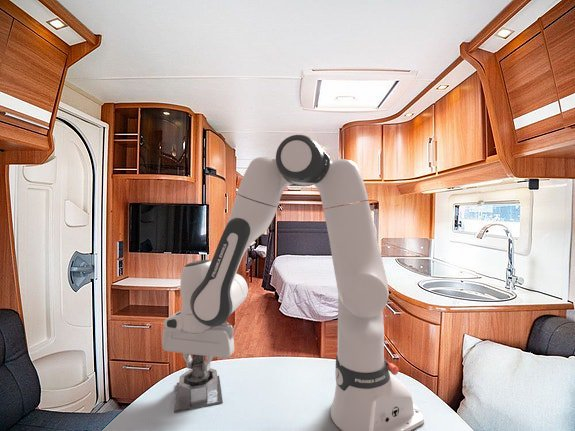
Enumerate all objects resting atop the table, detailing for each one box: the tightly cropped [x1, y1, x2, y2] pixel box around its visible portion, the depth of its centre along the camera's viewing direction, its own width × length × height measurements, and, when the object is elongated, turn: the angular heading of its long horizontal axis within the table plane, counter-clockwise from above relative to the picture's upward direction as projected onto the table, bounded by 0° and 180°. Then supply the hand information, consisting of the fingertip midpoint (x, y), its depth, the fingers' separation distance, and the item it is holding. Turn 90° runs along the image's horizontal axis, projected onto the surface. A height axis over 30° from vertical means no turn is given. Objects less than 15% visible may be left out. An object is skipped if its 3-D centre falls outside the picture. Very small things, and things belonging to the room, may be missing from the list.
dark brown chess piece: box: [187, 354, 209, 386], centre depth 81 cm, size 6×6×12 cm
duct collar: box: [173, 367, 224, 413], centre depth 81 cm, size 12×12×5 cm
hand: (198, 368), depth 81 cm, fingers closed on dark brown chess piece, 3 cm apart
